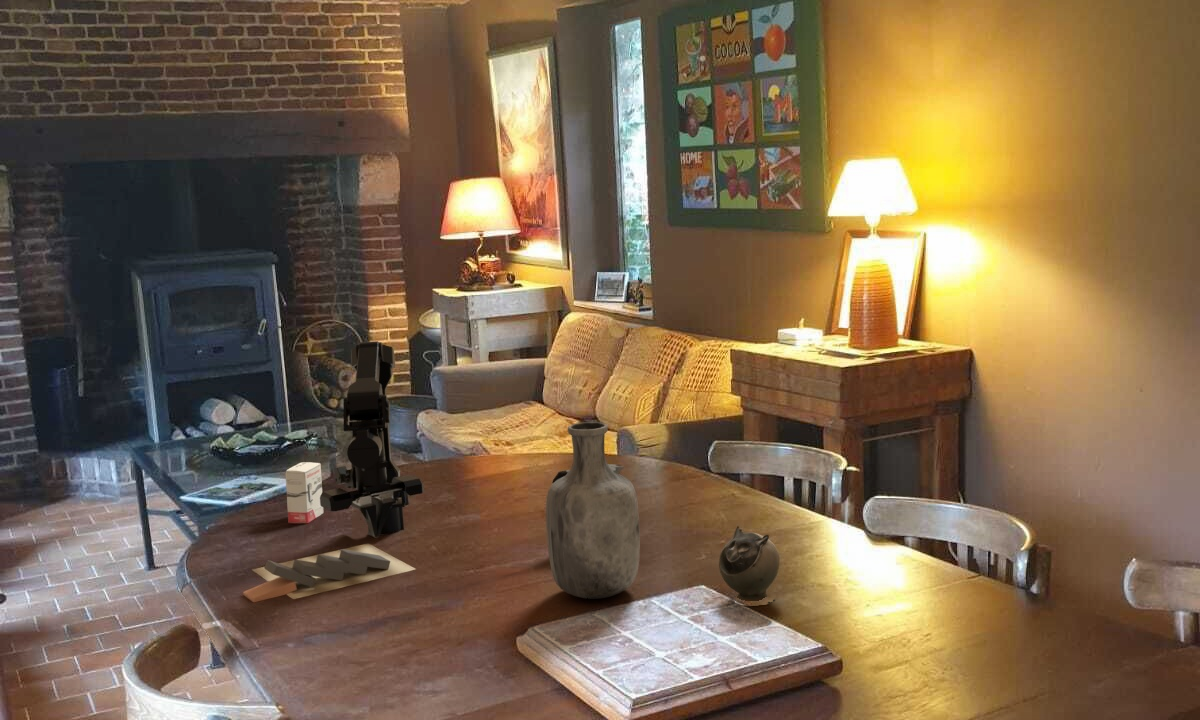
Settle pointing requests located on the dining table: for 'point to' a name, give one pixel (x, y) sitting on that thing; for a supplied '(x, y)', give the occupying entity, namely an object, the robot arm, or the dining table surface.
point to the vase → (592, 521)
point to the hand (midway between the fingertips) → (375, 536)
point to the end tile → (270, 589)
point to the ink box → (304, 492)
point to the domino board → (349, 578)
